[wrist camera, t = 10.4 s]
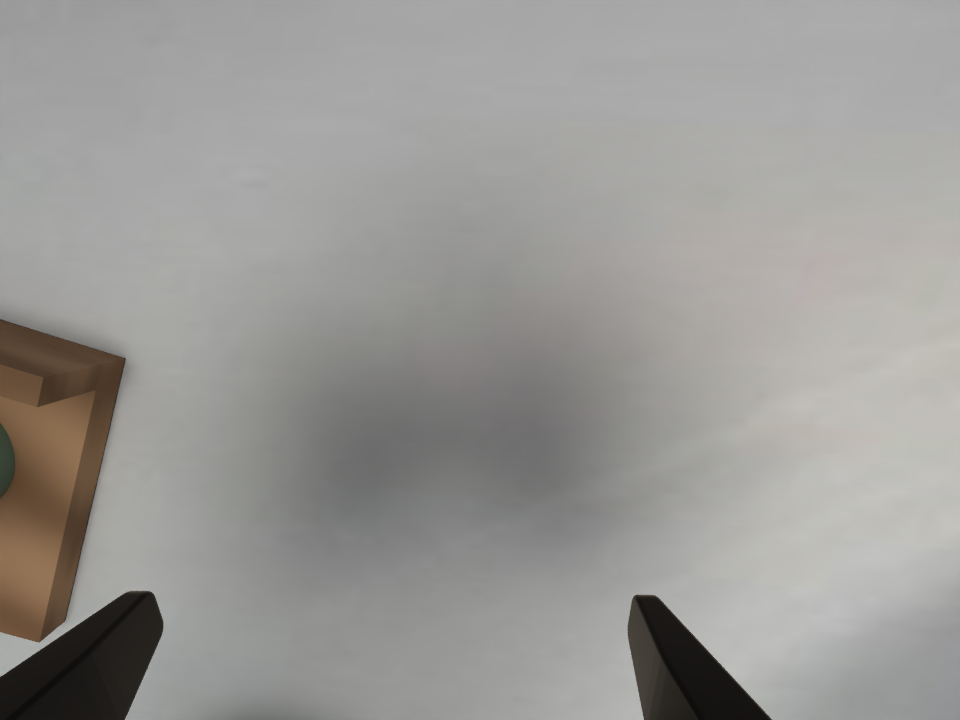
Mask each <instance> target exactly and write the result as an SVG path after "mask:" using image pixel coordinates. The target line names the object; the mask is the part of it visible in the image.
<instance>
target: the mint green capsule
mask: <svg viewBox="0 0 960 720" xmlns="http://www.w3.org/2000/svg"><path fill="white" fill-rule="evenodd" d="M14 467H15V457H14V450H13V446H12V443H11V440H10V438H9V436H8V434H7V432H6V430H5V429H4V427H3V426H2V424H1V423H0V498H1V497H2V496H3V495H4V494H5V492H6V490H7V489H8V487H9V485H10V483H11V481H12V477H13V474H14Z"/></svg>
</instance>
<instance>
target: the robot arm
mask: <svg viewBox="0 0 960 720" xmlns="http://www.w3.org/2000/svg"><path fill="white" fill-rule="evenodd" d="M162 632H163V619H162V616H161V613H160V610H159V607H158V604H157V601H156V598H155V596H154V594H153V593H152V592H150V591H130V592H127V593H125V594H123V595H121V596H120V597H118V598H117V599H115V600H114V601H112V602H111V603H109V604H108V605H107V606H105V607H104V608H102V609H101V610H99V611H98V612H96V613H95V614H93V615H92V616H90V617H89V618H87V619H86V620H84V621H83V622H81V623H80V624H78V625H77V626H75V627H74V628H72V629H71V630H69V631H68V632H66V633H65V634H64V635H62V636H61V637H59V638H58V639H56V640H55V641H53V642H52V643H50V644H49V645H47V646H46V647H44V648H43V649H41V650H40V651H38V652H37V653H35V654H34V655H32V656H31V657H29V658H28V659H26V660H25V661H23V662H22V663H21V664H19V665H18V666H16V667H15V668H13V669H12V670H10V671H9V672H7V673H6V674H4V675H3V676H1V677H0V720H125V718H126V716H127V713H128V711H129V709H130V707H131V705H132V702H133V700H134V698H135V695H136V693H137V691H138V689H139V686H140V684H141V682H142V679H143V677H144V675H145V672H146V670H147V668H148V666H149V663H150V661H151V659H152V656H153V654H154V652H155V650H156V647H157V645H158V643H159V640H160V638H161V635H162ZM628 639H629V645H630V650H631V655H632V660H633V665H634V670H635V675H636V681H637V686H638V691H639V696H640V701H641V706H642V711H643V716H644V720H772V719H771V718H770V717H769V716H768V715H767V714H766V713H765V712H764V711H763V709H762V708H761V707H760V706H759V705H758V704H757V703H756V702H755V701H754V700H753V699H752V698H751V697H750V695H749V694H748V693H747V692H746V691H745V690H744V689H743V688H742V687H741V686H740V685H739V684H738V683H737V682H736V680H735V679H734V678H733V677H732V676H731V675H730V674H729V673H728V672H727V671H726V670H725V669H724V668H723V667H722V665H721V664H720V663H719V662H718V661H717V660H716V659H715V658H714V657H713V656H712V655H711V654H710V653H709V651H708V650H707V649H706V648H705V647H704V646H703V645H702V644H701V643H700V642H699V641H698V640H697V639H696V638H695V636H694V635H693V634H692V633H691V632H690V631H689V630H688V629H687V628H686V627H685V626H684V625H683V624H682V623H681V621H680V620H679V619H678V618H677V617H676V616H675V615H674V614H673V613H672V612H671V611H670V610H669V609H668V607H667V606H666V605H665V604H664V603H663V602H662V601H661V600H660V599H659V598H658V597H656V596H654V595H635V596H634V597H633V599H632V603H631V610H630V616H629V622H628Z"/></svg>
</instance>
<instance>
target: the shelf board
mask: <svg viewBox="0 0 960 720" xmlns="http://www.w3.org/2000/svg"><path fill="white" fill-rule="evenodd" d="M124 362H125V359H124V358H121V357H118V356H115V355H112V354H108V353H105V352H102V351H99V350H96V349H92V348H89V347H86V346H83V345H80V344H76V343H73V342H70V341H67V340H64V339H60V338H57V337H54V336H51V335H48V334H44V333H41V332H38V331H35V330H32V329H28V328H25V327H22V326H19V325H16V324H12V323H9V322H6V321H3V320H0V423H1V424H2V426H3V427H4V429H5V430H6V432H7V434H8V436H9V438H10V440H11V443H12V446H13V450H14V457H15V467H14V474H13V477H12V481H11V483H10V485H9V487H8V489H7V490H6V492H5V494H4V495H3V496H2V497H1V498H0V632H2V633H6V634H10V635H13V636H17V637H21V638H24V639H28V640H32V641H35V642H41V641H42V640H43V639H44V638H45V637H46V636H48V635H49V634H50V633H51V632H52V631H54V630H55V629H56V628H57V627H58V626H60V625H61V624H62V623H63V622H64V621H65V618H66V613H67V609H68V605H69V600H70V596H71V592H72V587H73V583H74V579H75V574H76V570H77V566H78V561H79V557H80V553H81V548H82V544H83V540H84V535H85V531H86V527H87V522H88V518H89V514H90V509H91V505H92V501H93V496H94V492H95V488H96V483H97V479H98V475H99V470H100V466H101V462H102V457H103V453H104V449H105V444H106V440H107V436H108V431H109V427H110V422H111V418H112V414H113V409H114V405H115V401H116V396H117V392H118V388H119V383H120V379H121V375H122V370H123V366H124Z"/></svg>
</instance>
